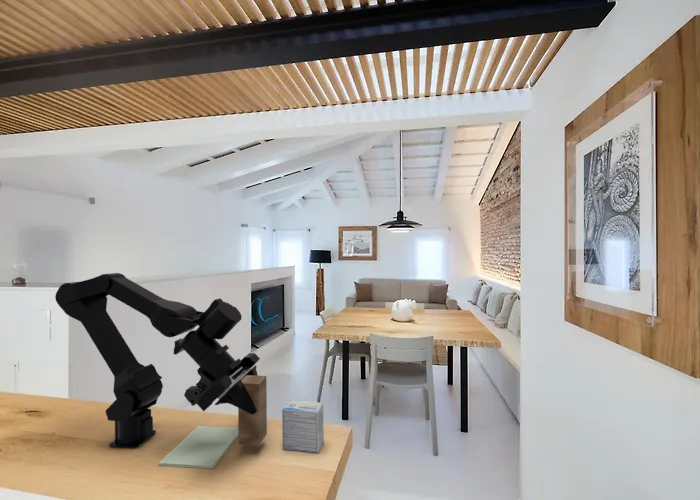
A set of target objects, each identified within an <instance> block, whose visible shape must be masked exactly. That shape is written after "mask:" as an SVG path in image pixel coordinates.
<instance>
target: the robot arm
mask: <svg viewBox="0 0 700 500" xmlns="http://www.w3.org/2000/svg"><path fill="white" fill-rule="evenodd" d="M108 296H110V297H112V298H114V299H116V300H117V301H120V302H121V303H123V304H125V305H127V306H128V307H130V308H131V309H133V310H135V311H136V312H138V313H140V314H141V315H144V316H145V317H146V318H148V320H149V321H150V323H151V325H152V327H153V328H154V329H155V330H157V331H158V332H159V333H160V334H161V335H162V336H163V337H167V338H174V337H177V336H180V335H182V334H185V333H187V334H185V336H184V337H183V338H179V339H176V340H174V343H173V344H174V347H173V351H172V354H173V355H176V356H177V355H178V354H180V353H181V352H183V351H185V353H186V354H187V355H188V356H189V357H190V358H191V359H192V360H193V361H194V362H195V363H196V365H197V366H198V369H196V371H197V374H198V376H200V379H199V381H198V382H196V384H195V385H191V386H189V387H188V388H187V389H185V392H184V394H183V397H185V399H186V401H188V402H189V403H190V404H191V406H192V407H194V406H196V405H197V406H198V407H199V408H200V409H201V410H202V411H203V412H205V411H206V410H207V409H209V407H210V406H212V405H213V403H214V402H215V401H216V403H214V405H215V406H219V405H221V404H222V405H223V404H229V405H232V406H234V407H236V408H237V409H238V408H240V409H242V410H244V411H246V412H248V413H250V414H252V415H254V414H255V413H256V412H257V410H256V407H255V405H254V403H253V401H252V399H251V398H250V396H249V394H248V392H247V390H246V388H245V386H244V384H243V383H242V381H241V380H242V379H243V378H244V377H245V376H246V375H254V376H259V375H258V371H257V368H258V366H257V365H256V364H257V363H258V362H259V361H260V359H261V358H260V357H259V355H257V354H256V353H255V352H249V353H247V354H246V355H245V356H244V357H243V358H242V359H240V358H237V359H235V358H233V356H232V355H231V354H230V353H229V352H228V350H229V349H230V347H229V346H228V345H227V344H225V345H223V346H222V344H220V343H219V341H218V340H223V339H224V338H225V337H226V336H227V335H228V334H229V333H230V332H231V331H232V330H233V329H234V328H235V327H236V325H237V324H239V322H240V321H242V318H243V317H242V314H241V311H240V310H239V309H238V308H237V307H236V306H233V304H231V303H229V302H226V301H224V300H223V299H221V297H220V298H216V299H213V301H212V302H211V303H210V305H209V307H207V308H206V310H205V311H200V310H196V309H195V308H194V307H193V306H192V305H189V304H186V303H183V302H179V301H173V300H168V299H165V298H162V297H161V296H159V295H157V294H155V293H154V292H152V291H150V290H148V289H146V288H145V287H143V286H141V285H140V284H138V283H136V282H135V281H132V280H131V279H128V278H127V277H126V276H125V274H122V273H120V272H116V273H115V272H113V273H102V274H100V275H98V276H95V277H92V278H89V279H85V280H82V281H72V282H66V283H65V282H64V283H62V284H61V285H60V286H59V287H58V289H57V291H56V293H55V297H54V298H55V302H56V303H57V305H58V306H59V307H60V308H61V310H62V311H63V312H64V313H65V314H66V315H67V316H69V317H70V318H72V319H75V320H76V321H78V322H80V323H81V324H82V326H83V327H84V330H86V332H87V335H88V336H89V337H90V339H91V341H92V342H93V344H94V345H95V348H96V349H97V350H98V352H99V354H100V355H101V357H102V358H103V360H104V362H105V363H106V365H107V367H108V368H109V370H110V372H111V373H112V375H113V377H114V380H113V393H114V397H115V398H116V399H115V400H114V401H113V402H112V403H111V404H110V406H108V407H107V409H106V410H105V414H106V417H107V420H108V421H113V422H114V440H113V441H112V442H111V443H109V444H108V447H109V448H120V449H121V448H124V449H137V448H139V447H140V446H142V445H143V444H144V443H146V441H148V440H149V439H150V438H152V437H153V436H155V434H156V433H157V430H154V418H153V416H152V409H151V407H152V406H154V405H157V402H158V399H159V397H160V396H161V394H162V391H163V388H164V385H163V382H162V378H163V377H162V376H161V375H160V374H159V373H158V372H157V369H156V367H155V365H154V364H152V363H149V364H148V365H144V364H141V363H140V362H139V361H138V360H137V358H136V357H135V355H134V353H133V351H132V350H131V348H130V347H129V345H128V344H127V341H126V340H125V339H124V337H123V335H122V334H121V332H120V331H119V329H118V328H117V326H116V324H115V323H114V321H113V319H112V318H111V316H110V315H109V313H108V310H107V307H108V306H107V305H108ZM197 326H198V327H197ZM196 327H197V328H196ZM195 328H196V329H195ZM194 329H195V330H194ZM217 399H218V400H217Z"/></svg>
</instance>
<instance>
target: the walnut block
mask: <svg viewBox="0 0 700 500" xmlns="http://www.w3.org/2000/svg"><path fill="white" fill-rule="evenodd" d="M241 381H242V383H243V384H244V386H245V388H246V390H247V392H248V394H249V396H250V398H251V399H252V401H253V403H254V405H255V407H256V410H257V412H256V413H255V414H254V415H252V414H250V413H248V412H246V411H244V410H242V409H240V408H238V407H237V409H238V412H237V413H238V415H237V418H238V419H237V420H238V423H237V424H238V426H237V428H238V437H237V438H238V445H246V446H260V445H261V443H262V442H263V441H264V439H265V437H266V436H267V433H268V424H267V423H268V421H267V420H268V418H267V416H268V415H267V414H268V412H267V409H268V406H267V405H268V401H267V396H268V395H267V394H268V393H267V390H268V389H267V386H268V385H267V375H258V376H254V375H246V376H245V377H244V378H243V379H242V380H241Z"/></svg>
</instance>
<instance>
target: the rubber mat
mask: <svg viewBox="0 0 700 500" xmlns="http://www.w3.org/2000/svg"><path fill="white" fill-rule="evenodd" d="M237 438H238V427H223V426H222V427H221V426H202V425H201V426H200V425H197V426H195V428H194V429H193V430H192V431H191V432H190V433H189V434H188V435H187V436H186V437H184V439H183V440H181V441H180V442H179V444H177V445H176V446H175V447H174V448H173V449H172V450H171V451H170V452H169V453H168V454H166V456H165V457H163V458H162V459H161V460H160V461H159V462H158V466H159V467H175V468H176V467H178V468H194V469H195V468H196V469H208V470H209V469H211V470H213V469H214V468H215V466H216V465H217V464H218V463H219V462H220V460H221V459H222V457H224V455H225V454H227V453H226V452H227V451H228V450H229V449H230V447H231V446H232V445H233V444H234V442H235V441H236V440H237Z"/></svg>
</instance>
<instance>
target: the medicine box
mask: <svg viewBox="0 0 700 500" xmlns="http://www.w3.org/2000/svg"><path fill="white" fill-rule="evenodd" d="M281 415H282V416H281V422H282V423H281V425H282V426H281V431H282V449H283V450H286V451H287V450H289V451H297V452H298V451H299V452H307V453H317V454H318V453H319V452H320V450H321V449H322V446H323V444H324V441H325V437H324V436H325V431H324V429H325V428H324V427H325V426H324V402H317V401H306V400H305V401H303V400H302V401H301V400H292V399H291V400H289V401H288V402H287V403H285V405H284V406H283V408H282V409H281Z"/></svg>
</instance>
